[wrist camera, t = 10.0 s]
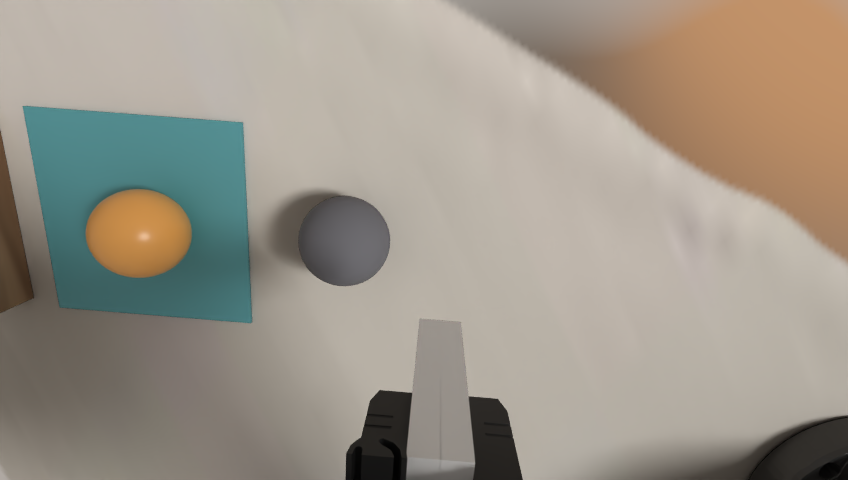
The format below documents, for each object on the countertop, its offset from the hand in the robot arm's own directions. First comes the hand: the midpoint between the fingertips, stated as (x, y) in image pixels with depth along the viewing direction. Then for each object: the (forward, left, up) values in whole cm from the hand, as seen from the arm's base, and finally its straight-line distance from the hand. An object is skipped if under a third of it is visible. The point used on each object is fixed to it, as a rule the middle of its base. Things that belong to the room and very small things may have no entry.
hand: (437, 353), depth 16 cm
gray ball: (+6, 0, -11) cm, 13 cm away
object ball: (+18, 0, -11) cm, 22 cm away
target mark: (+20, 0, -14) cm, 24 cm away
